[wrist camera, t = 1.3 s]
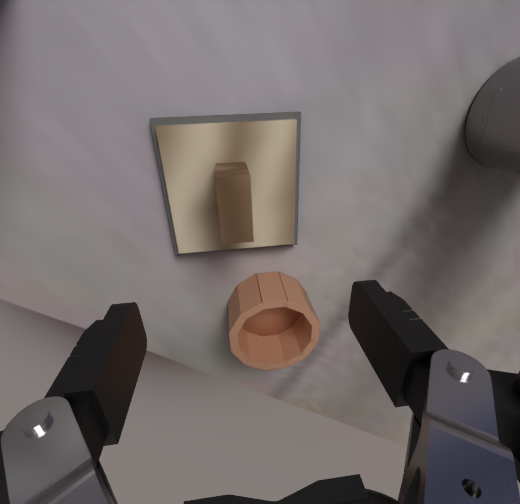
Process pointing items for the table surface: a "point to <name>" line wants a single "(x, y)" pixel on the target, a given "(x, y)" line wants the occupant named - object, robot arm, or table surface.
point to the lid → (230, 183)
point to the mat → (222, 119)
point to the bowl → (271, 321)
